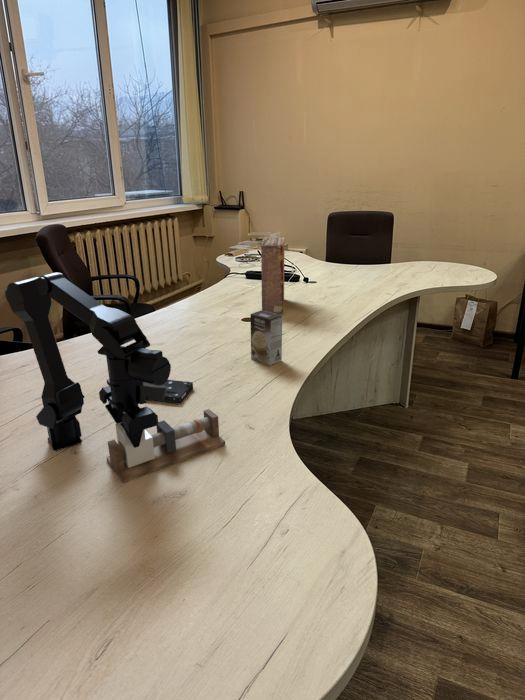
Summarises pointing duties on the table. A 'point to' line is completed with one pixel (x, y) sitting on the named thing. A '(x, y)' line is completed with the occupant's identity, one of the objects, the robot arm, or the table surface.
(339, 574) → the table surface
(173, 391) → the disk drive
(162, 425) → the dark square collar
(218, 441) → the pipe rig
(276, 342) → the coffee box
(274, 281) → the book
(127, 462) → the sleeve
